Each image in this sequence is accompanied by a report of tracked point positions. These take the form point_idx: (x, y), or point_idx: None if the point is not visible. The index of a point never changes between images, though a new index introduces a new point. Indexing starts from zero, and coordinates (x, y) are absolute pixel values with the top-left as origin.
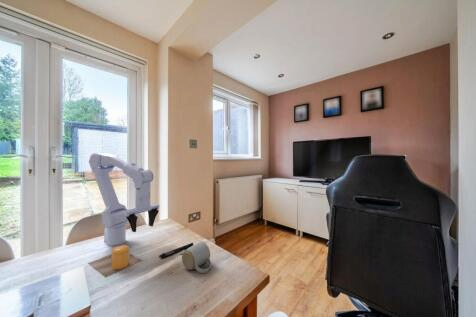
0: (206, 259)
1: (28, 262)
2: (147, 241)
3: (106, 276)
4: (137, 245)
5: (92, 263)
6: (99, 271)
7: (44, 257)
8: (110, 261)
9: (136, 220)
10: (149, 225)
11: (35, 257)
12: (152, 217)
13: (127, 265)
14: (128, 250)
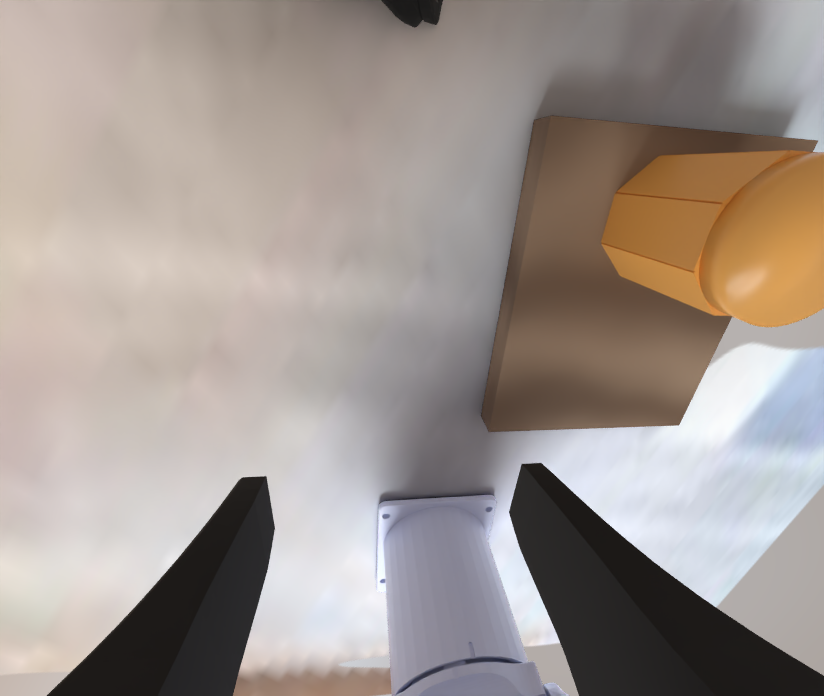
0: None
1: None
2: (274, 450)
3: (805, 150)
4: (359, 445)
5: (677, 402)
6: None
7: None
8: (634, 340)
9: (689, 655)
10: (271, 529)
11: None
12: (186, 671)
13: (653, 160)
14: (755, 176)
